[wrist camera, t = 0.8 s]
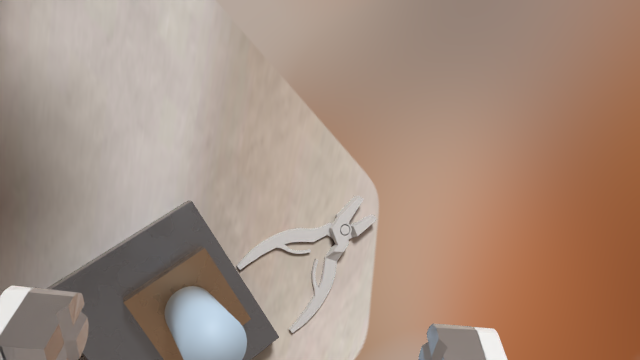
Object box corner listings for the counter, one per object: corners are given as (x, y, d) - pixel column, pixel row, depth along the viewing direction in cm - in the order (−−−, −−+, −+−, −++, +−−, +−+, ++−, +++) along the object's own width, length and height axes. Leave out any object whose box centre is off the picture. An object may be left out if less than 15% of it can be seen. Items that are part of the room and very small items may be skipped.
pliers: (237, 265, 49) (344, 172, 54) (234, 263, 51) (337, 172, 56) (296, 337, 52) (393, 241, 56) (291, 333, 53) (386, 239, 58)
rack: (-57, 353, 41) (-76, 371, 37) (187, 200, 49) (195, 201, 45) (58, 496, 44) (54, 528, 40) (271, 330, 52) (285, 342, 48)
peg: (154, 306, 43) (169, 341, 33) (198, 276, 45) (225, 300, 34) (182, 346, 44) (205, 392, 34) (224, 315, 45) (258, 350, 35)
